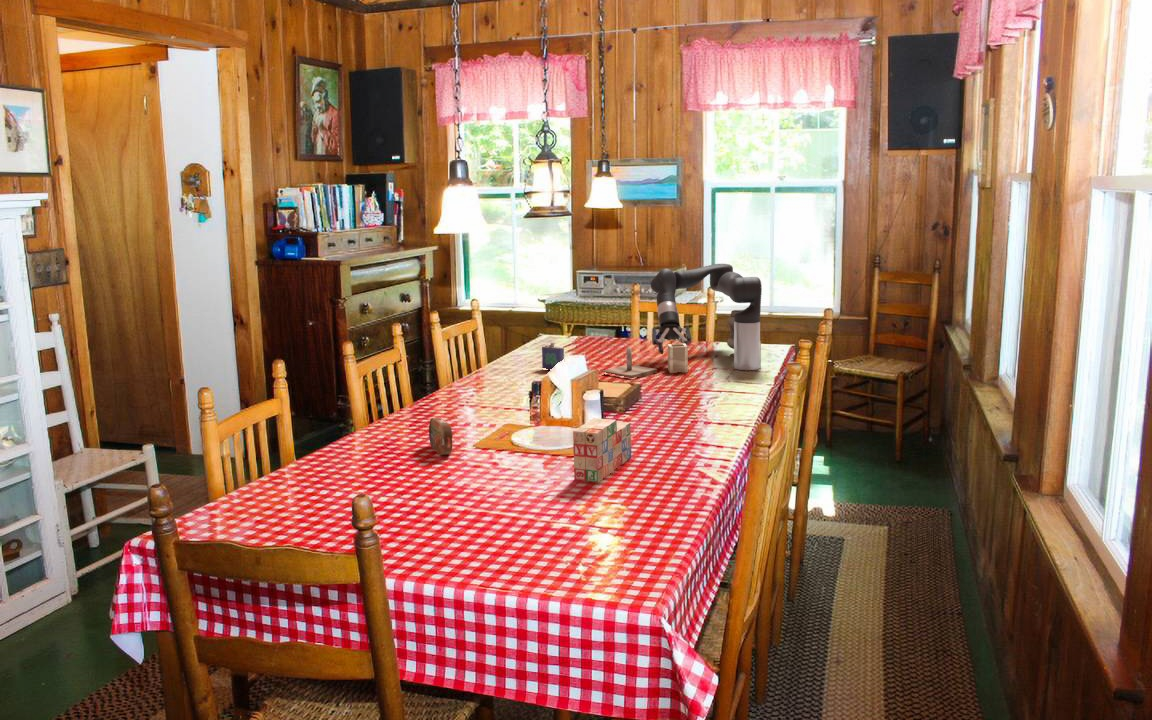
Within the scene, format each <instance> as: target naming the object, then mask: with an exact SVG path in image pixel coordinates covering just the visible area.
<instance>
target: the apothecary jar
mask: <svg viewBox="0 0 1152 720" xmlns="http://www.w3.org/2000/svg"><path fill="white" fill-rule="evenodd" d="M742 310H743V309H734V310H731V312H730V315H729V316H728V317H727V319H726V322H727V324H728V325H729V331H730V332H729V334H730V335H729V337H728V339H727V341H726V345H727V346H728V347H729V348H730V349H732V350H734V316H735V314H736V313H738V312H740V311H742ZM730 356H731V357H734V352H733V353H731V354H730V355H729V357H730ZM731 357H730V358H731Z"/></svg>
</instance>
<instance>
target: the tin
mask: <svg viewBox="0 0 1152 720" xmlns="http://www.w3.org/2000/svg"><path fill="white" fill-rule="evenodd" d="M428 435H429V443H430V447H431V449H432V448H433V449H432V450H433V451H435V452H436V453H437V454H438V455H439V456H447V455H451V454H452V451H453V430H452V427H451V425H450V424H449V423H448V422H447V421H446V420H445V419H443V418H441V417H437V418H436V417H435V418H434V417H432V418H430V420H429V424H428Z"/></svg>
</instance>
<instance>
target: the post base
mask: <svg viewBox="0 0 1152 720" xmlns="http://www.w3.org/2000/svg"><path fill="white" fill-rule="evenodd" d="M632 355H633V353H632V347H626V364H623V365H620V366H616V367H612V368H608V369H605V370H601V373H602V372H606V373H611V374H615V375H619V376H624V377H629V378H634V377H640V378H642V377H641V376H644V377H647V376H646V375H648V376H651V375H650V374H652V375H654V374H653V373H656V374H658V369H657V368H651V367H646V366H639V365H633V364H632V363H633V357H632Z"/></svg>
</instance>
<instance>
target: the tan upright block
mask: <svg viewBox="0 0 1152 720" xmlns="http://www.w3.org/2000/svg"><path fill="white" fill-rule="evenodd" d="M687 345H688V344H687ZM687 345H686V344H682V343H672V344H669V343H668V344H667V371H668V372H669V374H675V373H677V372H682V373H688V365H689V364H688V363H689V361H688V360H689V359H688V358H689V357H688V356H689V355H688V354H689V345H688V346H687Z"/></svg>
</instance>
